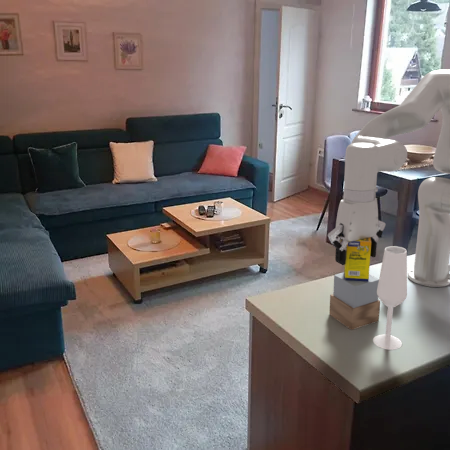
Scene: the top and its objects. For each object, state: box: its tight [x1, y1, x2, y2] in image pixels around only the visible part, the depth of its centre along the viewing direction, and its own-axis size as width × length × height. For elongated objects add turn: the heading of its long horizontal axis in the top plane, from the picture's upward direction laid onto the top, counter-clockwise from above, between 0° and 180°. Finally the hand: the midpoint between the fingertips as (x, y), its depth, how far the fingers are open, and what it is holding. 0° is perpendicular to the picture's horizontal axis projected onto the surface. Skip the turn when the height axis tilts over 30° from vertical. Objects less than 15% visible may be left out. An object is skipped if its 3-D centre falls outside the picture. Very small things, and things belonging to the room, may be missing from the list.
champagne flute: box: [372, 245, 408, 351], centre depth 115 cm, size 7×7×24 cm
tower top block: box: [332, 271, 379, 308], centre depth 127 cm, size 8×8×6 cm
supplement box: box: [343, 237, 371, 282], centre depth 125 cm, size 6×6×11 cm
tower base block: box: [329, 293, 381, 330], centre depth 129 cm, size 9×9×6 cm
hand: (355, 259), depth 125 cm, fingers open, 9 cm apart
